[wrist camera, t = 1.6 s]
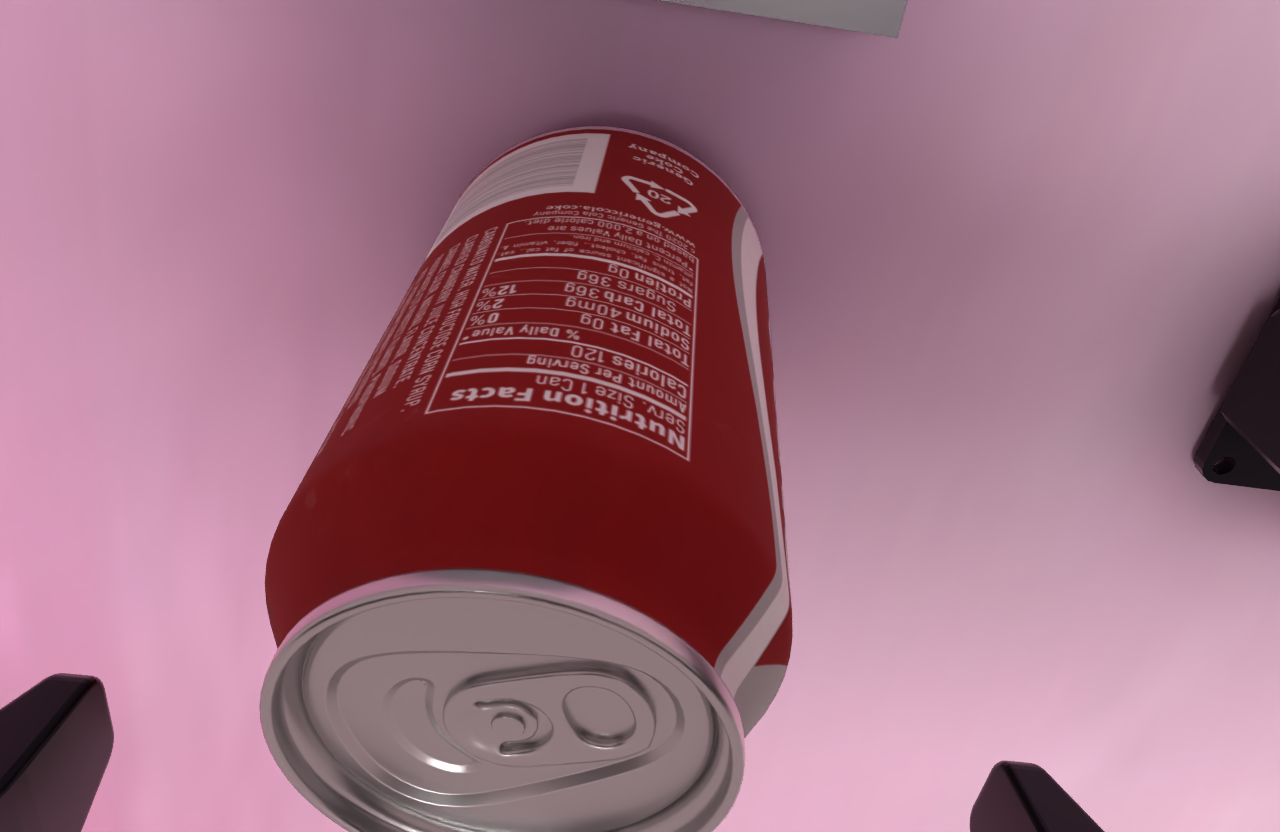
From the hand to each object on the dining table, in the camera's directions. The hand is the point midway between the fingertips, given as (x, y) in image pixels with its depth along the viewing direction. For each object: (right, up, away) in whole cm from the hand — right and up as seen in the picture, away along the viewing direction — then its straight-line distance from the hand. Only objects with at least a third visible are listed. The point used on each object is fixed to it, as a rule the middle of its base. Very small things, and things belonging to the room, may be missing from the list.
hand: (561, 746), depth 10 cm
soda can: (0, +7, +11) cm, 13 cm away
